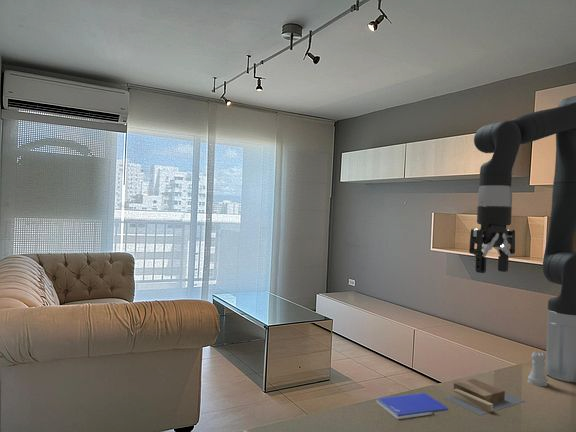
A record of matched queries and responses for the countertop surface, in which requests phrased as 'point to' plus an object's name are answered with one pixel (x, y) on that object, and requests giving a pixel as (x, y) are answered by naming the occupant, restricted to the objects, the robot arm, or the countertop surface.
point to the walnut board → (481, 390)
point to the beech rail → (473, 400)
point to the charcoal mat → (504, 403)
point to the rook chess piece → (538, 370)
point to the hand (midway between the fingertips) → (491, 272)
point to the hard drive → (410, 405)
